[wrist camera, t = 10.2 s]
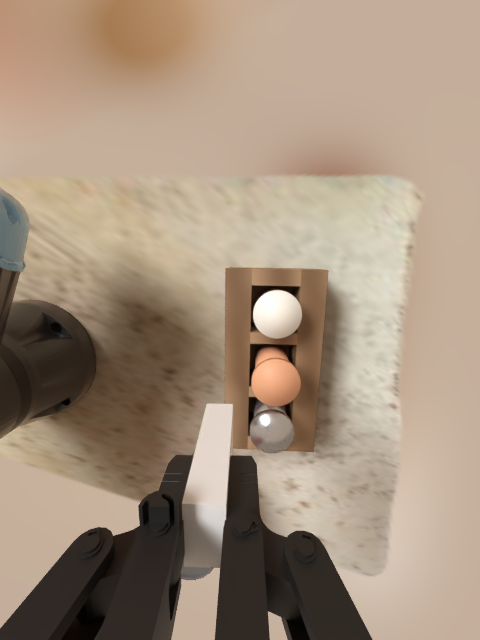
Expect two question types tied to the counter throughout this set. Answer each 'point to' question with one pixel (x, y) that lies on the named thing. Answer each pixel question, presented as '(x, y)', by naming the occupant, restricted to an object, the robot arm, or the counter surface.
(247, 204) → the counter surface
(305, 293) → the button block
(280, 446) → the plunger grey
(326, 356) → the counter surface
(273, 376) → the peach round knob
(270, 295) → the plunger white
